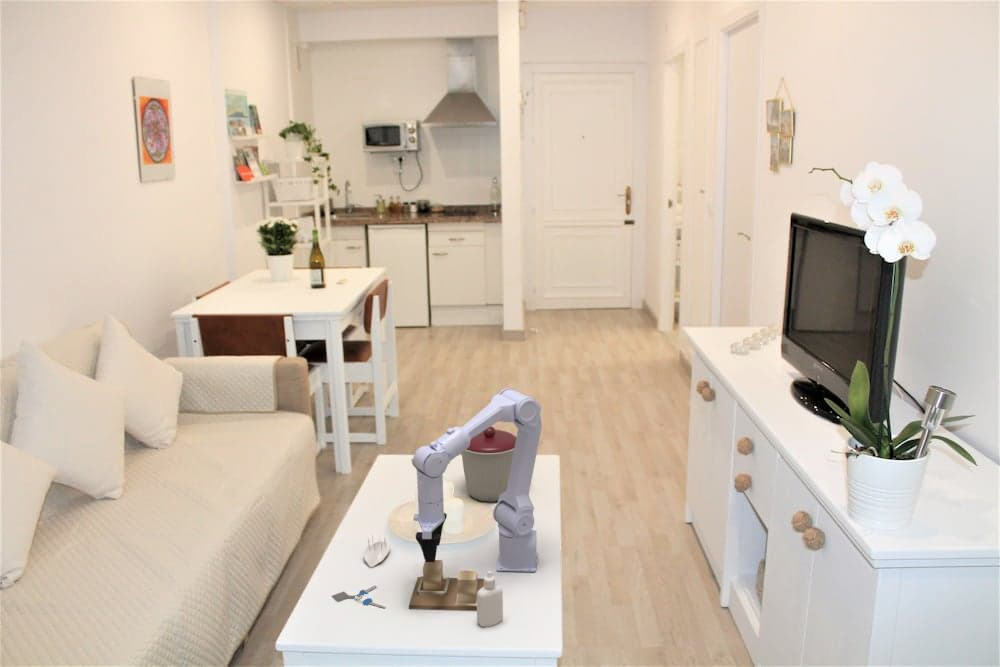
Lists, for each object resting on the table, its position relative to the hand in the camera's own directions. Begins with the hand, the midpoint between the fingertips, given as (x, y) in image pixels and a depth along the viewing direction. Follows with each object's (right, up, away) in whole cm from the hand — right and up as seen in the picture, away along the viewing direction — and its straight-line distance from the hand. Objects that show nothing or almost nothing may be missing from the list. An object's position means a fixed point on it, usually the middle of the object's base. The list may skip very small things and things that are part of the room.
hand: (432, 553), depth 192 cm
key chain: (-16, -11, +1) cm, 19 cm away
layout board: (+3, -10, +1) cm, 11 cm away
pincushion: (-16, -6, +19) cm, 25 cm away
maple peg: (0, -9, +2) cm, 9 cm away
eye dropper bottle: (+13, -13, -10) cm, 21 cm away
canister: (+13, +3, +54) cm, 55 cm away
